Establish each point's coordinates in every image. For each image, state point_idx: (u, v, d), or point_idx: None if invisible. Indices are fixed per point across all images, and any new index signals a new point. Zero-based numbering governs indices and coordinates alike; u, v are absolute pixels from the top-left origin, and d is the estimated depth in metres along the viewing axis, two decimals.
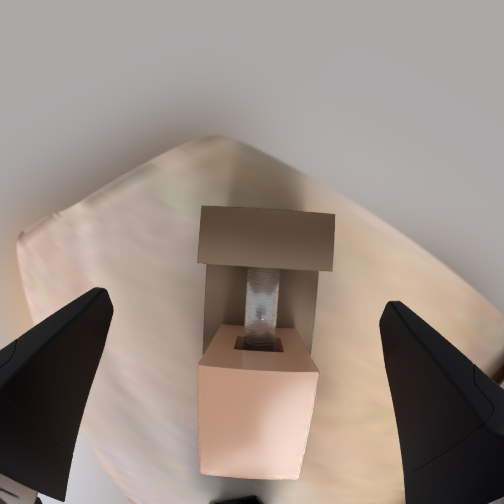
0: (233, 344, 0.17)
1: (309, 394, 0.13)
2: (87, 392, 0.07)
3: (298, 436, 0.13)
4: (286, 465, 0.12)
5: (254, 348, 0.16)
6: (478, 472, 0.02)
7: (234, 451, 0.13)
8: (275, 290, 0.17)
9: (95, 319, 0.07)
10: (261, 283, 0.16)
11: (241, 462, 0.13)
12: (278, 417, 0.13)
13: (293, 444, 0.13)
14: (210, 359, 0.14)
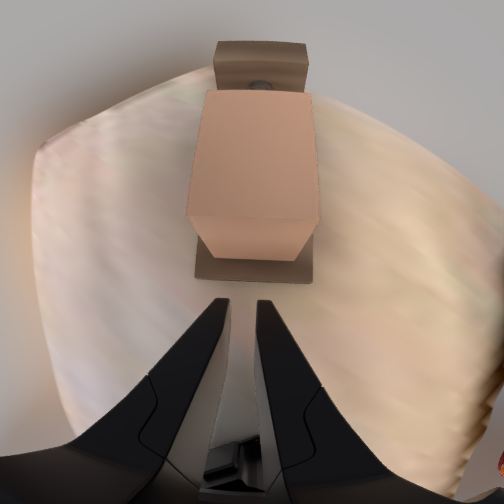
0: None
1: (306, 107, 0.14)
2: (215, 418, 0.06)
3: (305, 148, 0.13)
4: (300, 191, 0.12)
5: None
6: None
7: (233, 168, 0.13)
8: None
9: (226, 335, 0.07)
10: (258, 88, 0.18)
11: (242, 185, 0.13)
12: (280, 125, 0.13)
13: (302, 158, 0.13)
14: None
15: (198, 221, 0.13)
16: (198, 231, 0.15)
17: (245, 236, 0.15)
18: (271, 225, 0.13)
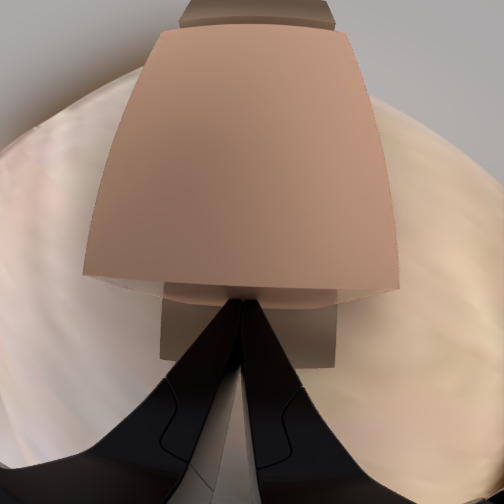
0: None
1: (343, 50, 0.06)
2: (229, 419, 0.06)
3: (354, 115, 0.05)
4: (352, 214, 0.05)
5: None
6: None
7: (192, 158, 0.05)
8: None
9: None
10: None
11: (210, 199, 0.05)
12: (298, 73, 0.06)
13: (350, 137, 0.05)
14: None
15: (118, 282, 0.05)
16: (134, 289, 0.07)
17: (226, 297, 0.08)
18: (281, 293, 0.06)
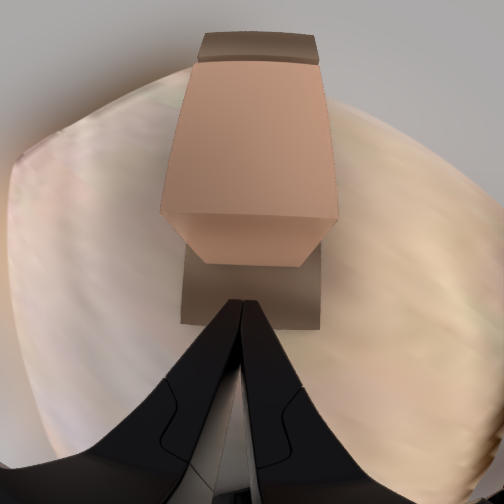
0: None
1: (315, 80, 0.10)
2: (229, 419, 0.06)
3: (316, 126, 0.10)
4: (311, 180, 0.09)
5: None
6: None
7: (224, 151, 0.10)
8: None
9: None
10: None
11: (234, 172, 0.09)
12: (284, 100, 0.10)
13: (313, 139, 0.10)
14: None
15: (177, 220, 0.10)
16: (180, 233, 0.11)
17: (239, 239, 0.12)
18: (273, 225, 0.10)
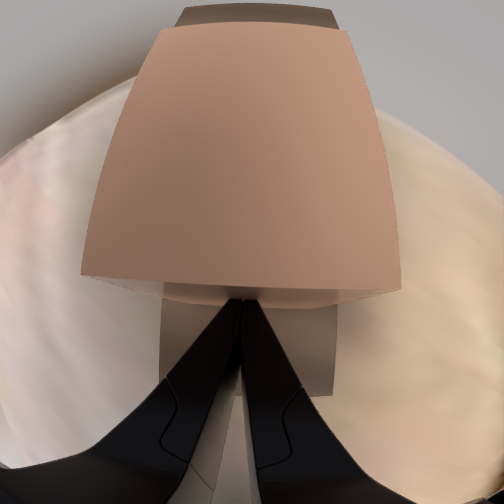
0: None
1: (344, 48, 0.06)
2: (229, 419, 0.06)
3: (355, 114, 0.05)
4: (354, 213, 0.05)
5: None
6: None
7: (190, 157, 0.05)
8: None
9: None
10: None
11: (209, 198, 0.05)
12: (298, 71, 0.06)
13: (351, 135, 0.05)
14: None
15: (116, 282, 0.05)
16: (134, 289, 0.07)
17: (226, 297, 0.07)
18: (281, 293, 0.06)
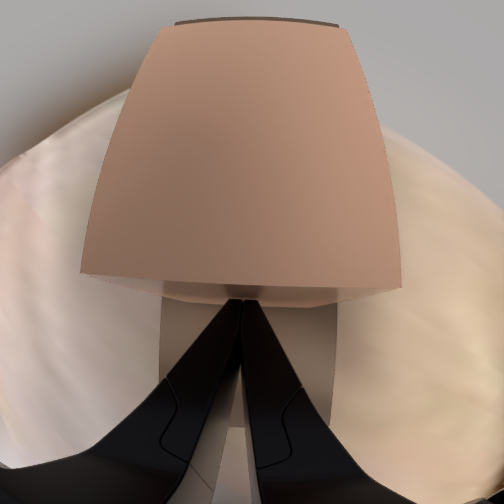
0: None
1: (344, 47, 0.06)
2: (229, 419, 0.06)
3: (355, 111, 0.05)
4: (354, 211, 0.05)
5: None
6: None
7: (190, 154, 0.05)
8: None
9: None
10: None
11: (209, 196, 0.05)
12: (298, 69, 0.06)
13: (352, 133, 0.05)
14: None
15: (116, 280, 0.05)
16: (133, 288, 0.07)
17: (225, 296, 0.07)
18: (281, 291, 0.06)
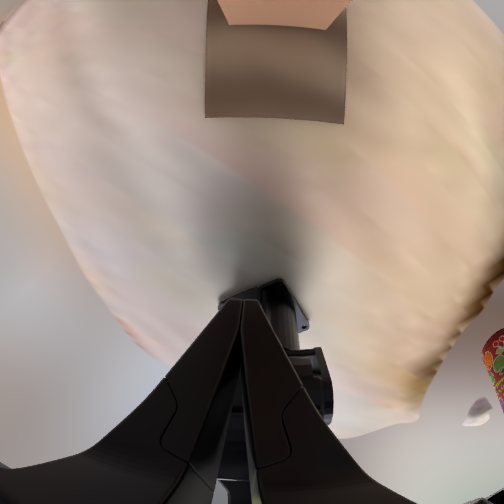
0: None
1: None
2: (229, 419, 0.06)
3: None
4: None
5: None
6: None
7: None
8: None
9: None
10: None
11: None
12: None
13: None
14: None
15: None
16: None
17: None
18: None
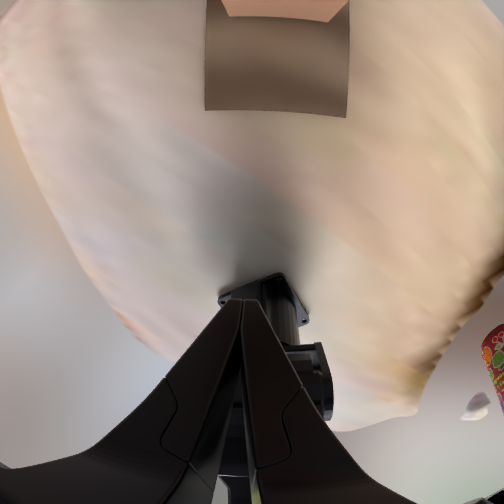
0: None
1: None
2: (229, 419, 0.06)
3: None
4: None
5: None
6: None
7: None
8: None
9: None
10: None
11: None
12: None
13: None
14: None
15: None
16: None
17: None
18: None
